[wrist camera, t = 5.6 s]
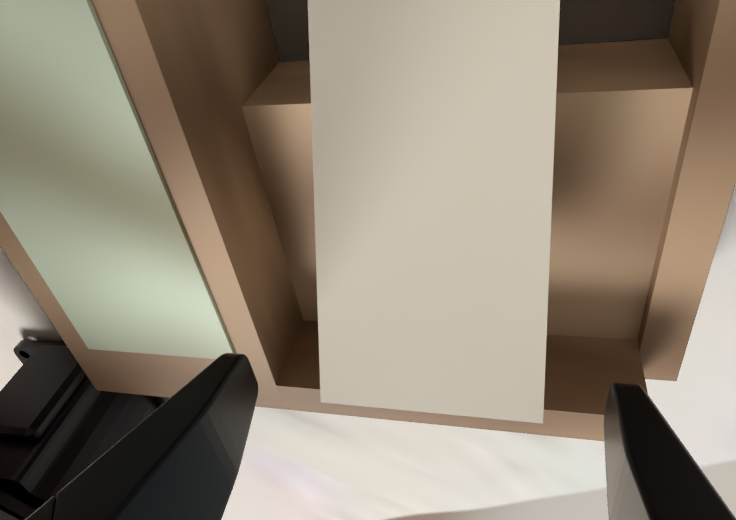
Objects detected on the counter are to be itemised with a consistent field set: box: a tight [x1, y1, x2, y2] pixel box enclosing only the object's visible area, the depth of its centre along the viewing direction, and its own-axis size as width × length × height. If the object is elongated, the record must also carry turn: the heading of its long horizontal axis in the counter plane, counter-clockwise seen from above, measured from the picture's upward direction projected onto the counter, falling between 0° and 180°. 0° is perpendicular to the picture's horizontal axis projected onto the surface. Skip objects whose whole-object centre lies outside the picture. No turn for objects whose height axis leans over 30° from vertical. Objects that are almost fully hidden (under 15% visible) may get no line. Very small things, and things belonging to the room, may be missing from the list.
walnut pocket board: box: [0, 0, 736, 441], centre depth 12 cm, size 15×16×5 cm
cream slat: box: [308, 0, 560, 423], centre depth 11 cm, size 11×4×2 cm, turn 8°
